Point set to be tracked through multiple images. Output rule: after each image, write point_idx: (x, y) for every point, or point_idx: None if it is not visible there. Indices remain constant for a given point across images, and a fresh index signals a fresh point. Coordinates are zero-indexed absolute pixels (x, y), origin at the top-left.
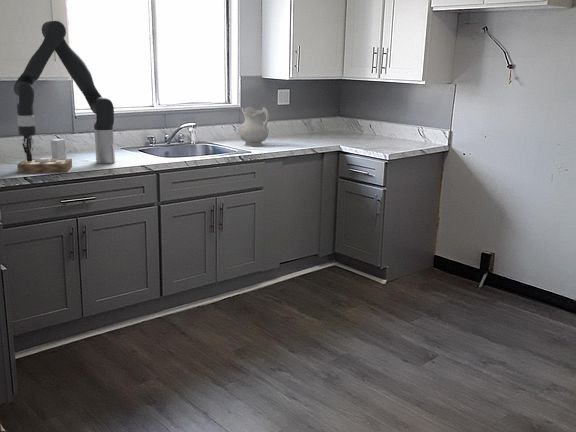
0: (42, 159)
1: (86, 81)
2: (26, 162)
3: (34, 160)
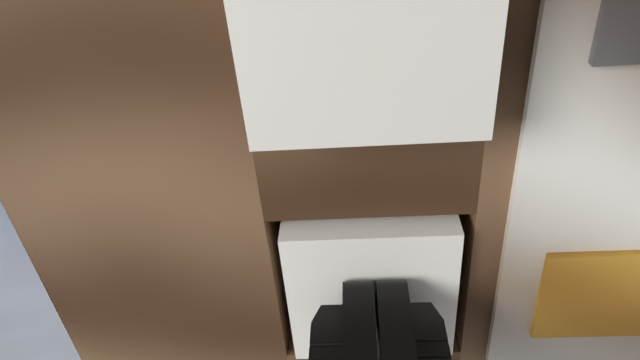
0: (499, 70)
1: None
2: (559, 319)
3: (300, 249)
